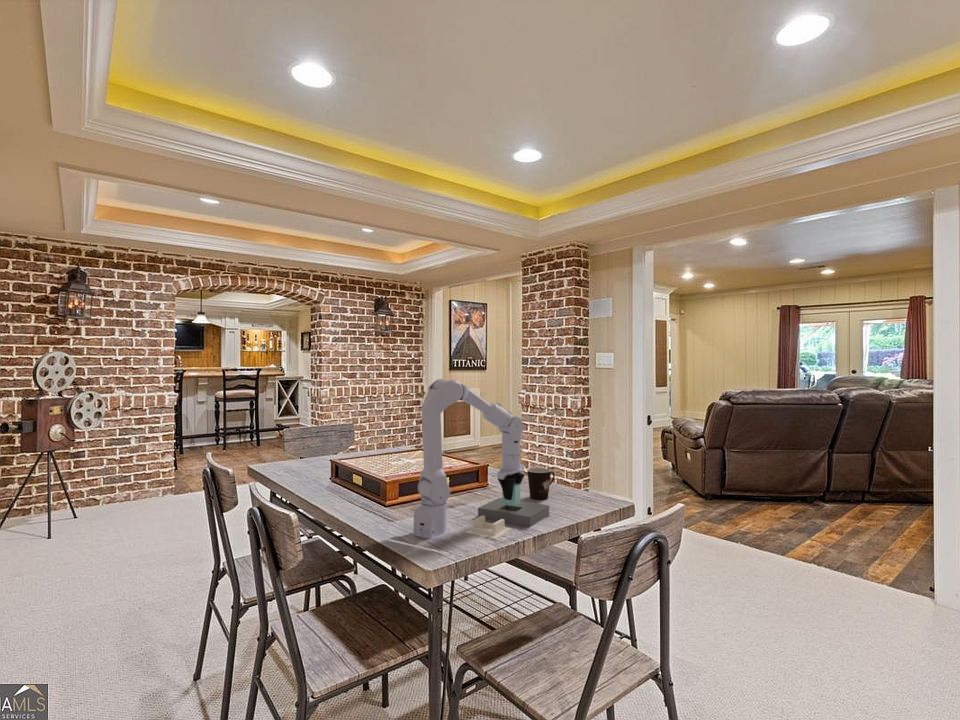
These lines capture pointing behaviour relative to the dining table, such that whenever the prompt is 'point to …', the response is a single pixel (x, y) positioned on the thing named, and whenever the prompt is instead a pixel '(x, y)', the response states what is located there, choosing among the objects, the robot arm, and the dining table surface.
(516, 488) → the plug
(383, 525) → the dining table surface
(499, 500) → the block
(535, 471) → the coffee mug
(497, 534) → the beige square holder
